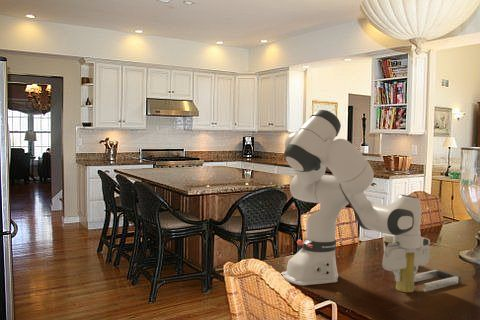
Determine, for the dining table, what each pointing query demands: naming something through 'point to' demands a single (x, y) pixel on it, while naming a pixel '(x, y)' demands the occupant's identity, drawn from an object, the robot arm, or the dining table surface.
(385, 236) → the coffee cup
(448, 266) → the dining table surface
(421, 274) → the rail board
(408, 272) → the vase
